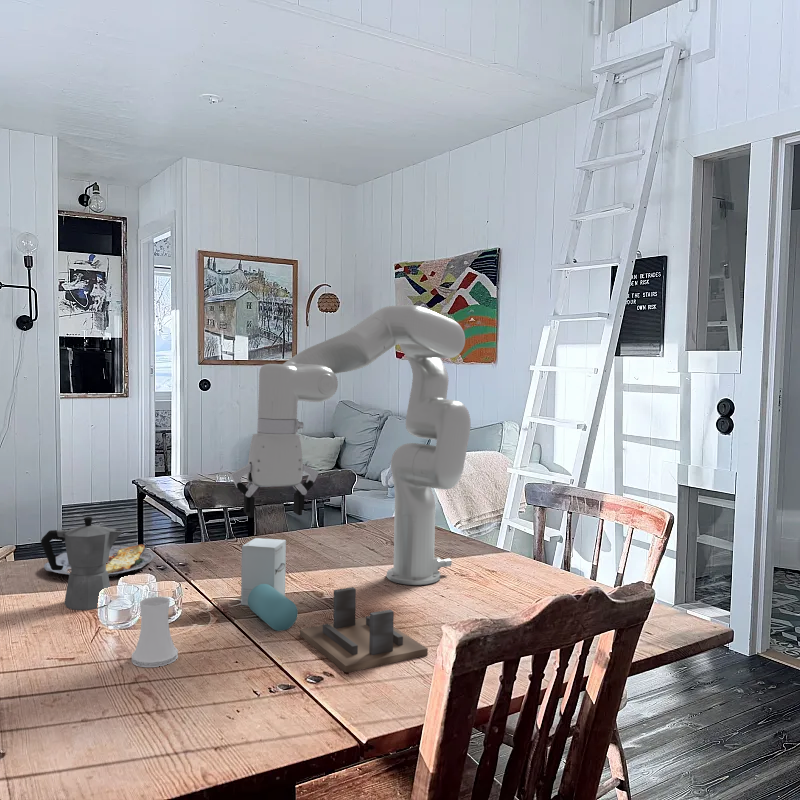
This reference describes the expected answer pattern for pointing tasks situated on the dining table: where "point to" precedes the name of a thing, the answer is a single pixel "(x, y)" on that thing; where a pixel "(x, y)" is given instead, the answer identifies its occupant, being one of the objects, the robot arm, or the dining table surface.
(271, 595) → the light blue cylinder
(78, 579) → the coffeepot
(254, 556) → the supplement box
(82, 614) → the dining table surface
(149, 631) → the vase
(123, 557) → the food plate
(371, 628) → the roll holder
